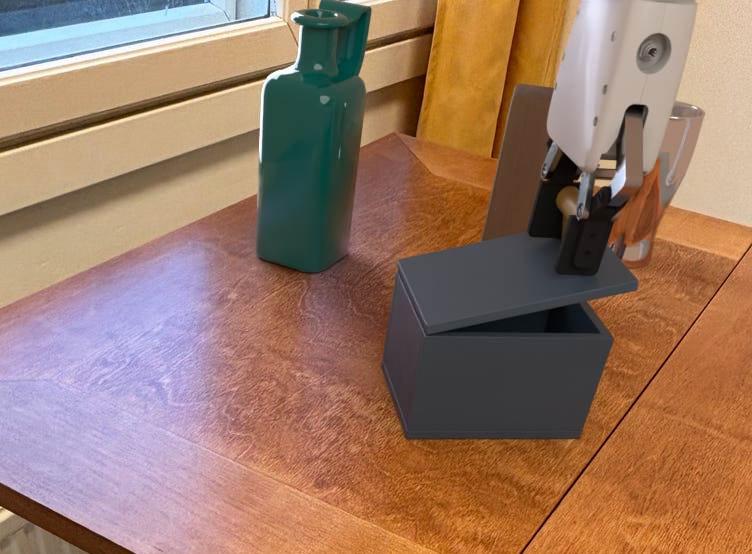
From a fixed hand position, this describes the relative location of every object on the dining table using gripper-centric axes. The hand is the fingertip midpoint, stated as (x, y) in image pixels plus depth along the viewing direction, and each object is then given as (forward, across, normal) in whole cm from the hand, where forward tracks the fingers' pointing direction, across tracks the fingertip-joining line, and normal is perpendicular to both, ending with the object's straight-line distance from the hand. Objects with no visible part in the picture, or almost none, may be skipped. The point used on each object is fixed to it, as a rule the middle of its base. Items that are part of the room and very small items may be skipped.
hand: (560, 252), depth 68 cm
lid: (+2, 0, +3) cm, 4 cm away
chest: (+13, 0, +4) cm, 13 cm away
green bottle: (+13, +31, +15) cm, 36 cm away
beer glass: (+12, +31, -21) cm, 40 cm away
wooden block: (+13, +22, -6) cm, 26 cm away
